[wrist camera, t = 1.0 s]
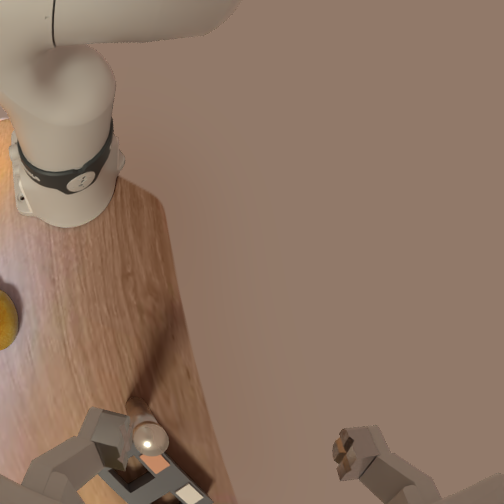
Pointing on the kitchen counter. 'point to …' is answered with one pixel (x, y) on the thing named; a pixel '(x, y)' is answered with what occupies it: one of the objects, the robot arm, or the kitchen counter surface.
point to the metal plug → (146, 428)
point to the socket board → (155, 481)
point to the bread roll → (7, 321)
